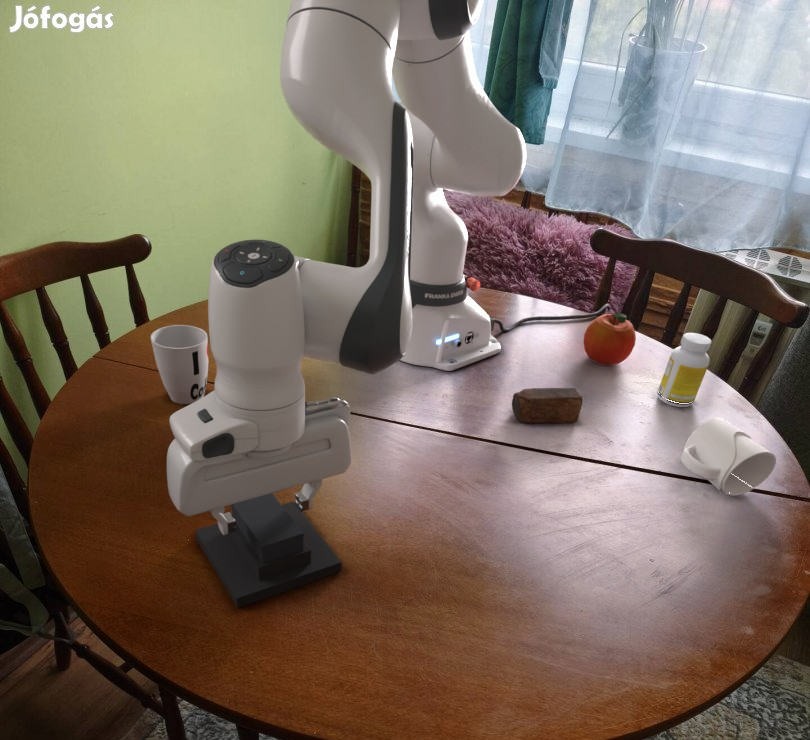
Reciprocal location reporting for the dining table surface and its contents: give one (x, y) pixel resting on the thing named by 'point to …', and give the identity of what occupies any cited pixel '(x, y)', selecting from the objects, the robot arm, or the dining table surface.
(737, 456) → the mug
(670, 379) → the pill bottle
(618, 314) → the fruit
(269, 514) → the top pad
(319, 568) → the base pad
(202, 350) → the cup
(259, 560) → the medium pad
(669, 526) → the dining table surface
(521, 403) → the brick
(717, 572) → the dining table surface
